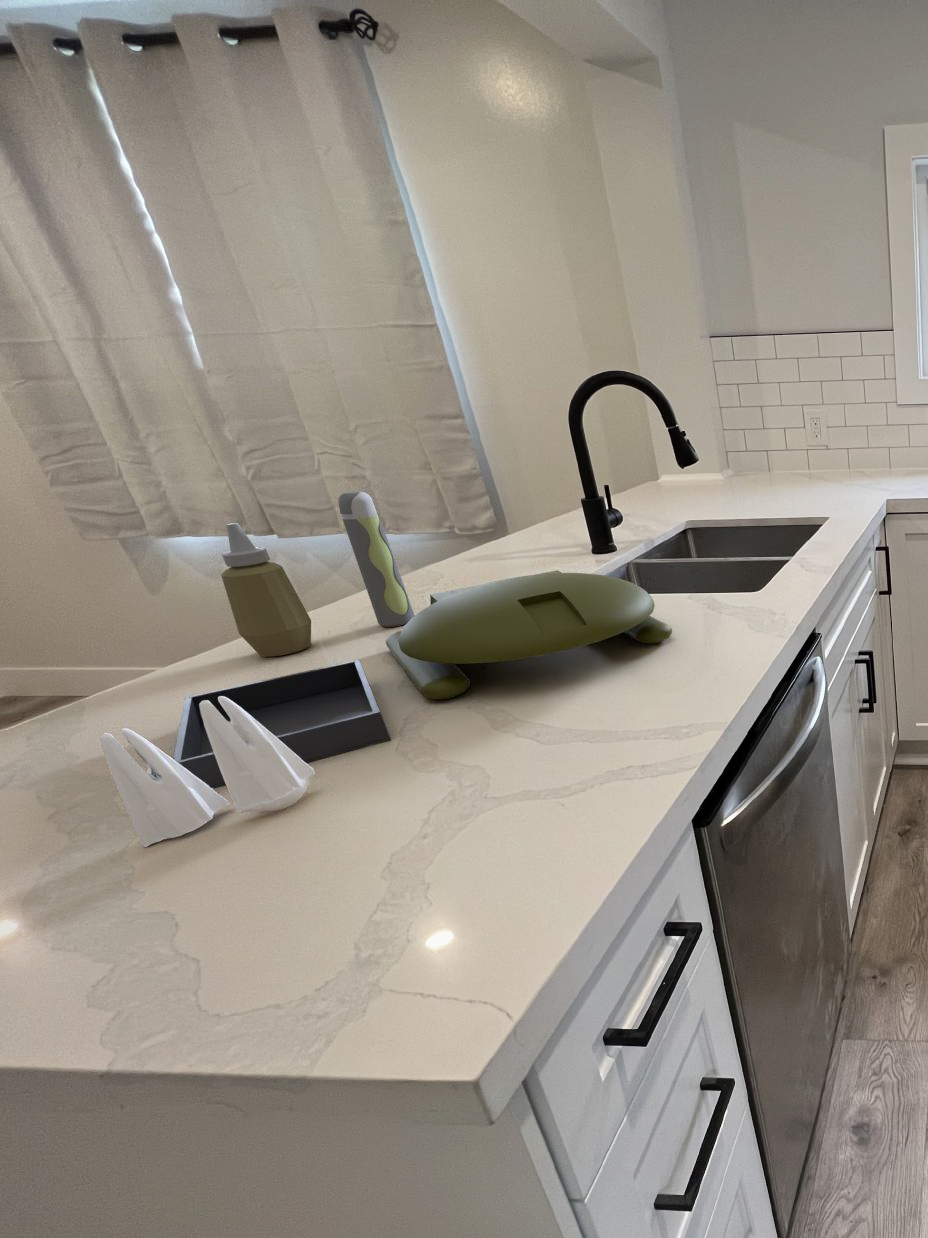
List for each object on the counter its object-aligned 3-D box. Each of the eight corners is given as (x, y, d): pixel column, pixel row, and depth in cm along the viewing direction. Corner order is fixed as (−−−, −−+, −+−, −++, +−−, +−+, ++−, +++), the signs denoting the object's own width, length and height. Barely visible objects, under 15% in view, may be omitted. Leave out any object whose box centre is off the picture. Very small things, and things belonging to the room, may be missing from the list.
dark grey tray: (198, 723, 86) (185, 697, 85) (368, 683, 95) (359, 659, 94) (187, 795, 71) (171, 764, 70) (390, 739, 80) (380, 711, 79)
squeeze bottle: (234, 660, 105) (174, 530, 97) (288, 640, 112) (237, 518, 105) (283, 661, 104) (226, 530, 96) (334, 641, 111) (286, 518, 103)
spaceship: (385, 648, 107) (361, 581, 103) (604, 600, 126) (590, 541, 122) (440, 724, 83) (410, 641, 79) (699, 651, 102) (686, 580, 98)
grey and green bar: (423, 620, 119) (379, 490, 111) (392, 629, 115) (344, 495, 107) (403, 617, 121) (359, 489, 113) (372, 626, 117) (323, 494, 109)
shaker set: (324, 787, 72) (277, 679, 67) (316, 807, 68) (266, 695, 64) (157, 825, 66) (93, 711, 62) (140, 849, 63) (71, 731, 58)
